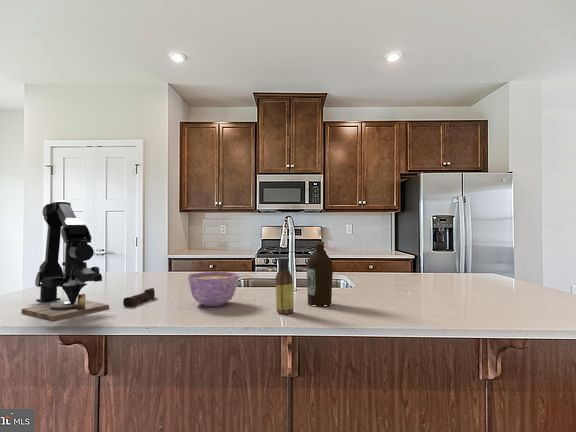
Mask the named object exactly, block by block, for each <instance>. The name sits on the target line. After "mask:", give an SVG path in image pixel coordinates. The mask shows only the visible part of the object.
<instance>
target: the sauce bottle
mask: <svg viewBox="0 0 576 432" xmlns="http://www.w3.org/2000/svg"><path fill="white" fill-rule="evenodd" d="M277 263H278V272H277V273H276V275H275V302H276V303H275V305H276V306H275V307H276V312H278V314H279V313H280V314H281V315H291V314H293V313H294V282H293V276H292V274H291V271H290V258H289V257H278V258H277ZM292 312H293V313H292ZM290 313H291V314H290ZM280 314H279V315H280Z"/></svg>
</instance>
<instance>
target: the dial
mask: <svg viewBox="0 0 576 432" xmlns="http://www.w3.org/2000/svg"><path fill="white" fill-rule="evenodd" d="M85 300H86V293H79V294H78V296H77V299H76V301H75V304H74V305H71V303H70V301H69V299H68V298H66V299H60V300H55V301H50V303H49V304H50V308H51V309H69V308H75V307H76V308H77V309H84V308H85Z"/></svg>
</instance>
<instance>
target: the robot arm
mask: <svg viewBox="0 0 576 432" xmlns="http://www.w3.org/2000/svg"><path fill="white" fill-rule="evenodd" d="M42 216H43V219H44V221H45V223H46V224H47V234H46V248H45V256H44V261H43V262H42V263H41V264H40V265H39V269H38V271H37V273H36V277H35V280H34V281H35V283H34V284H35V285H34V286H36V287H37V288H39V289H40V291H39V293H40V295H39V296H40V297H39V298H38V299H37V298H36V302H41V303H49V302H54V301H58V300H62V298H61V297H58V288H59V287H60V288H62V290H63V291H64V293H65V295H66V296H67V299H69V301H70V303H71V305H74V304H75V301H76V299H78V294H80V293H81V290H82V289H83V288H84V287H85V286H87V285H88V283H87V282H103V275H102V274H101V272H100V267H98V266H97V265H96V266H92V267H87V266H88V265H87V262H86V261H89V260H90V259H91V258H93V256H94V253H95V251H94V248H93V246H91V245H90V244H91V243H92V239H93V238H92V235H91V232H90V230H89V227H88V226H87V225H86V224H85V222H84V221H83V220H79V219H78V217H77V216H76V215H75V212H74V211H73V209H72V205H71V202H70V201H67V200H56V201H55V200H54V202H50V203H47V204H45V205H44V206H43V207H42ZM61 238H62V240H63V242H64V244H65V246H64V247H65V249H64V262H61V264H60V263H59V258H60V257H59V255H60V246H61V245H60V244H61ZM88 243H89V244H88ZM62 266H64V269H63V268H62ZM63 270H64V272H63Z"/></svg>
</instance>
